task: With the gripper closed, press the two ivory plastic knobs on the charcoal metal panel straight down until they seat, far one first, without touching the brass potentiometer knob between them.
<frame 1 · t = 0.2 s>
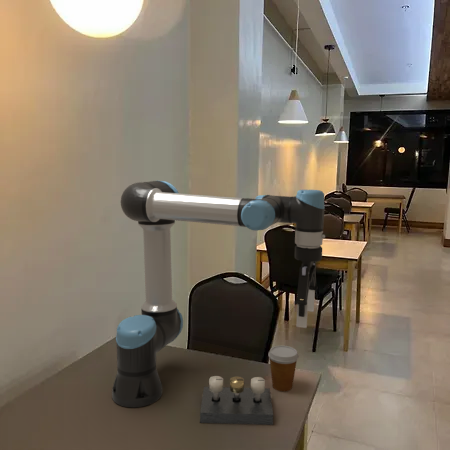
hand: (305, 318, 127), 27 cm above the table, fingers open, 13 cm apart
brass pot knob: (236, 389, 128), point 6 cm above the table, slide at 0.0 cm
knob far: (257, 390, 128), point 6 cm above the table, slide at 0.0 cm
mount panel: (236, 409, 129), on the table
knob near: (216, 388, 128), point 6 cm above the table, slide at 0.0 cm
disposable coffee cup: (282, 387, 142), on the table
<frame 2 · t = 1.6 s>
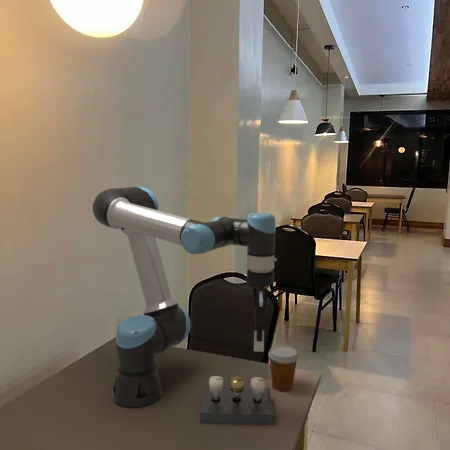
hand: (258, 350, 126), 18 cm above the table, fingers closed
nothing on the table moved.
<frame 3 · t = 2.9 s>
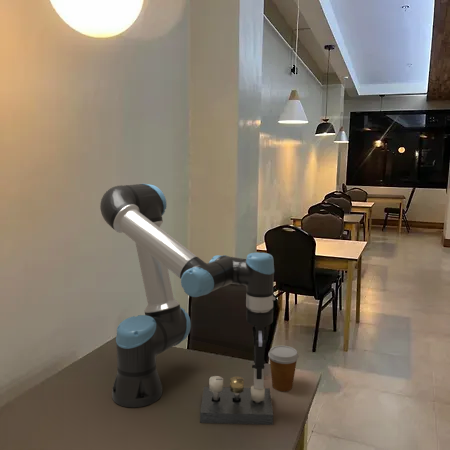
hand: (258, 387, 128), 7 cm above the table, fingers closed
knob far: (257, 397, 128), point 4 cm above the table, slide at 2.4 cm, touching gripper
everything else where it was.
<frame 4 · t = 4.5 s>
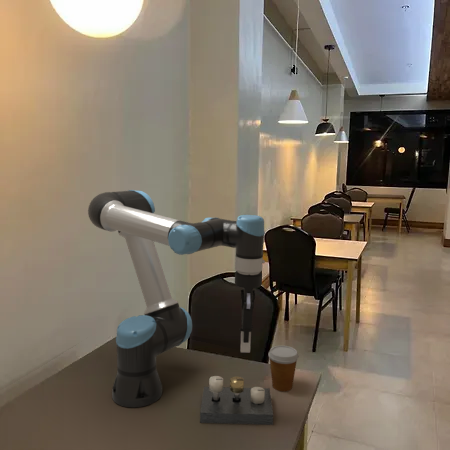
hand: (245, 351, 127), 18 cm above the table, fingers closed
knob far: (257, 399, 128), point 3 cm above the table, slide at 3.0 cm
everything else where it was.
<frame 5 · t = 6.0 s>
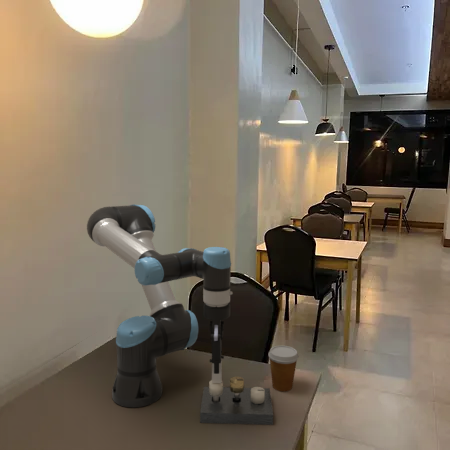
hand: (216, 381, 128), 9 cm above the table, fingers closed
knob near: (216, 392, 128), point 5 cm above the table, slide at 1.0 cm, touching gripper
everything else where it was.
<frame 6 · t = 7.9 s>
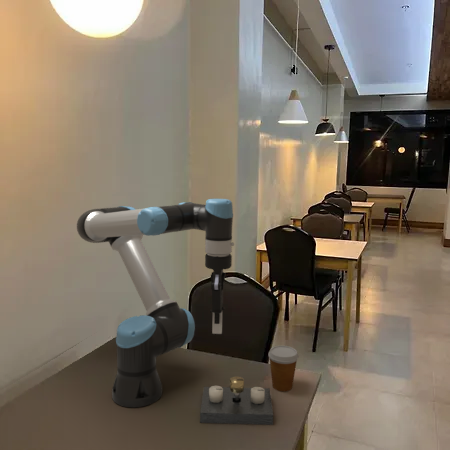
hand: (217, 332, 130), 22 cm above the table, fingers closed
knob near: (215, 398, 129), point 3 cm above the table, slide at 3.0 cm
everything else where it was.
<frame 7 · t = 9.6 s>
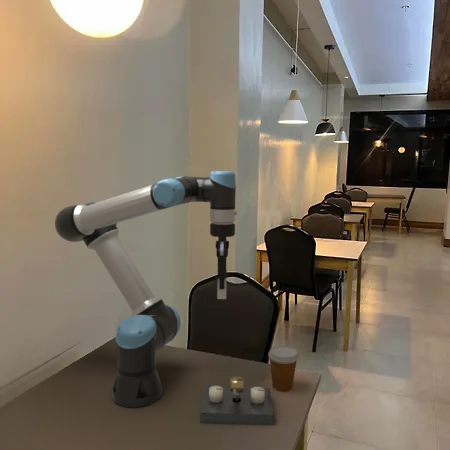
hand: (221, 298, 137), 29 cm above the table, fingers closed
nothing on the table moved.
at the end: knob far slide at 3.0 cm; knob near slide at 3.0 cm; brass pot knob slide at 0.0 cm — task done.
